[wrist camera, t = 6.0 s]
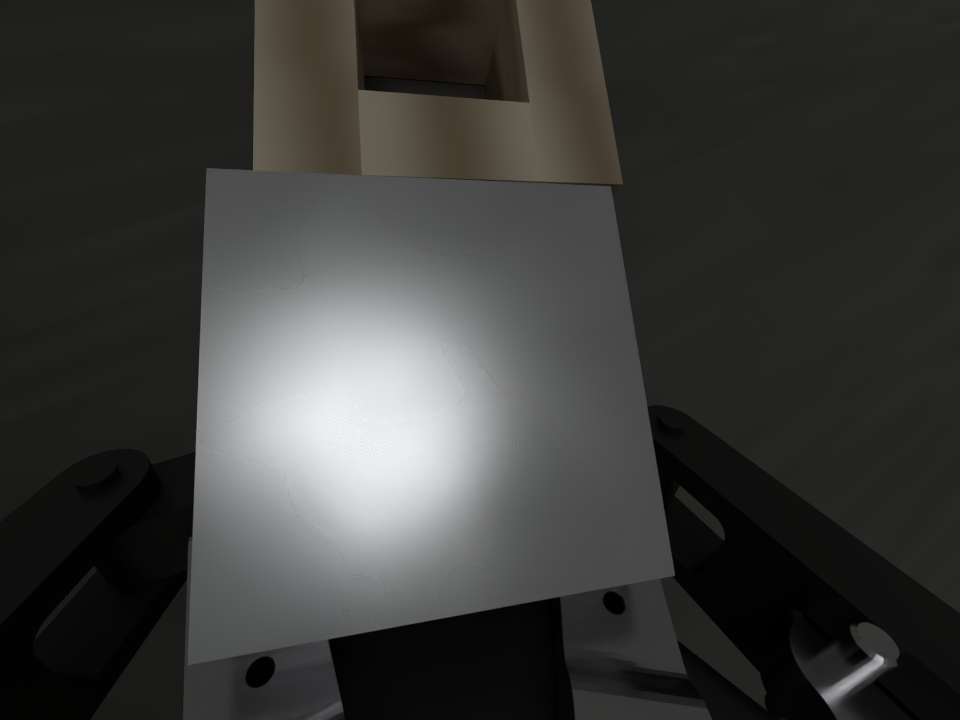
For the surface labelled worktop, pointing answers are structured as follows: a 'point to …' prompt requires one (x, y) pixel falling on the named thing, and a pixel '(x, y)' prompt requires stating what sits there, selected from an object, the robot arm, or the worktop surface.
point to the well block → (426, 118)
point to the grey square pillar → (411, 406)
